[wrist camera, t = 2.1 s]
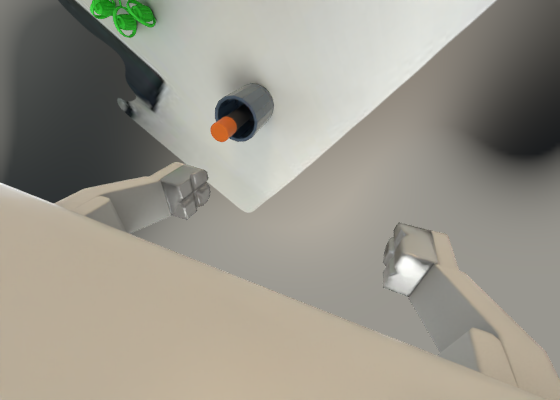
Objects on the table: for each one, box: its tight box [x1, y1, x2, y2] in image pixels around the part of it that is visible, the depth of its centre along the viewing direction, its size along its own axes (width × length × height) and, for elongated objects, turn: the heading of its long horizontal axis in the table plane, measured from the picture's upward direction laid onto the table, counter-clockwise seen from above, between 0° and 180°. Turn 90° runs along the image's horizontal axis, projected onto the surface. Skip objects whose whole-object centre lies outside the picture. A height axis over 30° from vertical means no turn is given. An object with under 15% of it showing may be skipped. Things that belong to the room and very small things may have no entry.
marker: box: [211, 104, 253, 142], centre depth 38 cm, size 3×3×14 cm
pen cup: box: [215, 83, 274, 142], centre depth 40 cm, size 7×7×9 cm
